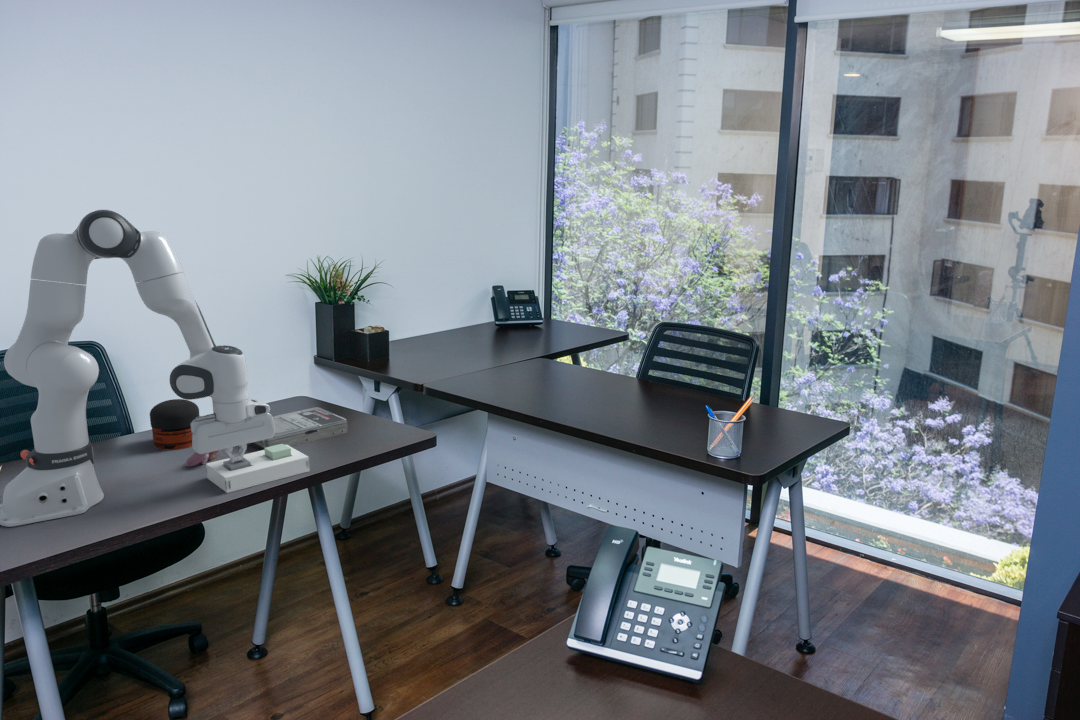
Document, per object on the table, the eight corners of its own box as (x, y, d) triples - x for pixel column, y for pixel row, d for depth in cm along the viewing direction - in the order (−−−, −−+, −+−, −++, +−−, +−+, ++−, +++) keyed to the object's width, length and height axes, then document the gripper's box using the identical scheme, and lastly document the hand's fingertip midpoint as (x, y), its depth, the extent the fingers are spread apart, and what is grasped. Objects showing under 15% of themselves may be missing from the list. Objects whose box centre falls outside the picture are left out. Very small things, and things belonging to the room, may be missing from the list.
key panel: (227, 493, 199) (225, 477, 198) (207, 478, 208) (205, 463, 207) (309, 471, 213) (308, 456, 212) (287, 458, 222) (286, 444, 221)
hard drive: (236, 439, 239) (235, 424, 238) (318, 420, 257) (318, 406, 256) (264, 454, 226) (263, 439, 225) (349, 433, 244) (348, 419, 243)
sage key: (273, 463, 210) (272, 452, 209) (265, 458, 213) (264, 447, 213) (291, 459, 213) (290, 448, 212) (283, 454, 217) (282, 443, 216)
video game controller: (198, 473, 215) (206, 452, 213) (183, 465, 216) (192, 443, 213) (219, 460, 225) (227, 440, 223) (205, 452, 225) (213, 432, 223)
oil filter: (144, 443, 234) (167, 453, 226) (140, 403, 231) (162, 411, 223) (187, 432, 243) (210, 441, 236) (183, 393, 241) (206, 401, 233)
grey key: (231, 478, 203) (230, 466, 202) (224, 472, 207) (223, 461, 206) (251, 473, 206) (250, 462, 206) (243, 467, 210) (242, 457, 209)
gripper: (194, 421, 193) (200, 475, 197) (275, 404, 207) (279, 455, 210) (185, 415, 198) (190, 468, 201) (265, 399, 211) (269, 449, 215)
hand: (236, 461), depth 206 cm, fingers closed, pressing on grey key
